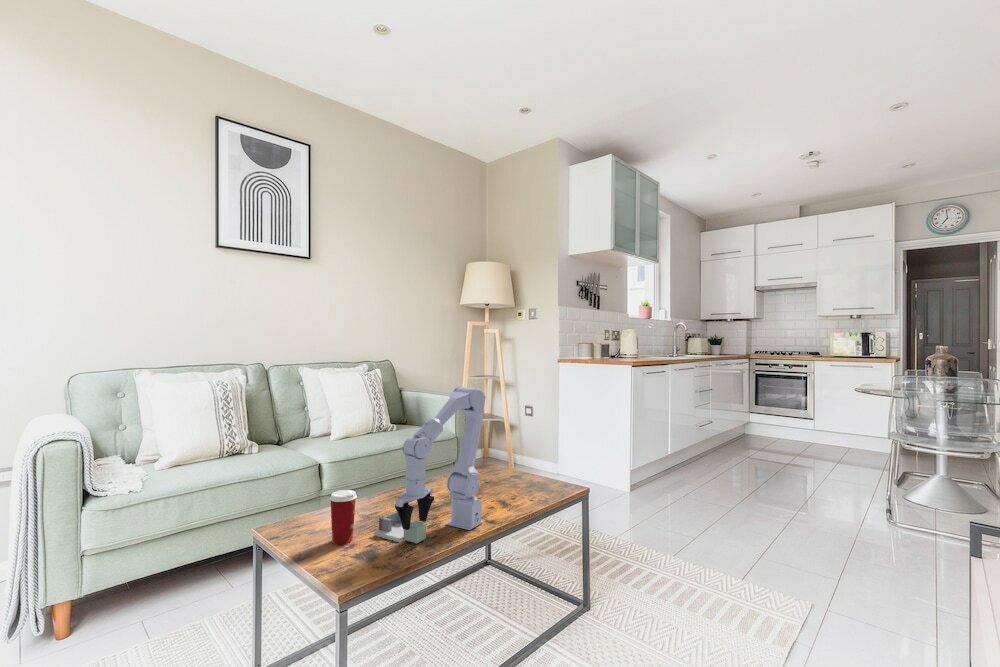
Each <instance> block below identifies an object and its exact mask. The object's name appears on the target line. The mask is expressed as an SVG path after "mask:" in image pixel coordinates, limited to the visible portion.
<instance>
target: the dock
mask: <svg viewBox="0 0 1000 667" xmlns="http://www.w3.org/2000/svg"><path fill="white" fill-rule="evenodd" d="M374 536H375V537H379V538H381V537H382V539H386V540H389V541H392V540H393V542H396V543H402V542H405V540H404V529H403V528H402V524H401V520H400V516H399V514H398V512H397V510H395V511H392V512H391V513H388V514H386V515H382V516H381V517H379V519H378V529H377V530H375V531H374Z"/></svg>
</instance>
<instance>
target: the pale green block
mask: <svg viewBox="0 0 1000 667" xmlns="http://www.w3.org/2000/svg"><path fill="white" fill-rule="evenodd" d="M426 530H427V523H426V522H423V521H416V520H412V519H411V523H410V529H409V530H405V529H404V542H405V543H408V542H411V543H413V544H414V545H415V546H416V545H417V544H418V543H420V542H424V541H425V539H426V536H427V535H426V533H427V531H426Z"/></svg>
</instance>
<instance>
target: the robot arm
mask: <svg viewBox="0 0 1000 667" xmlns="http://www.w3.org/2000/svg"><path fill="white" fill-rule="evenodd" d="M486 398H487V397H486V394H485V393H484V390H482V389H481V388H480V387H465V386H456V387H455V388H454V389H453V390H452V391H451V392H450V394H449V399H447V401H446V402H445V404H444V405H443V407H442V408H441V409H440V410H439V411H438V413H437V414H436V416H435V417H434V418H428V419H426V420H425V421H424V424H422V426H421V427H420V428H419V429H418V430H417V431H416V432H415V433H414V435H413V436H409V437H407V438H406V439H405V441H404V443H403V446H402V447H401V451H402V453H403V455H404V460H405V491H403V492H402V494H401V495H400V496H399V497H398V498H396V499H395V504H394V508H395V511H397V512H398V514H399V516H400V520H401V524H402V528H403V529H405V530H409V529H410V523H411V521H412V515H413V512H414V509H415V506H414V505H413V506H412V505H411V504H410V503H413V502H414V501H416V502H417V506H418V508H417V509H418V519H419V522H422V523H426V522H427V519H428V514H429V511H430V509H431V506H432V504H433V502H434V501H435V496H433V495H434V488H433V487H429V486H427V487H426V462H427V461H426V459H427V456H429V454H430V453H431V447H432V446H433V443H434V442H435V441H436V440H437V438H438V437H439V436H440V435H441V434H442V433H443V431H444V427H443V426H444V425H445V424H446V423H447V422H448V421H449V420H450V419H451V418H452V417H453V416H454V415H455V413H457V412H458V411H459V410H461V411H463V413H464V414H465V416H466V419H465V423H464V430H463V433H462V434H463V435H462V441H461V445H460V451H459V454H458V459H457V460H458V462H457V464H455V465H454V466H453V467H452V468H451V470H450V474H449V475H448V477H447V480H446V489H447V490H448V492H449V494H450V496H451V507H450V508H451V509H450V510H451V511H450V512H451V513H450V514H451V516H450V520H449V521H446V522H445V525H447V526H450V527H455V528H458V529H463V530H466V531H467V530H468V531H470V530H472V529H474V528H476V527H477V526H479V525H481V524H482V522H483V520H482V510H483V509H482V500H481V499H480V498H478V497H476V495H477V494H478V492H479V488H480V483H479V482H480V481H479V478H480V474H479V472H478V471H477V469H476V468H475V463H476V457H477V452H478V447H479V441H480V436H481V430H482V425H483V420H484V413H485V412H484V409H485V408H484V407H485V403H486ZM483 523H484V522H483Z"/></svg>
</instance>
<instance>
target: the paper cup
mask: <svg viewBox="0 0 1000 667" xmlns="http://www.w3.org/2000/svg"><path fill="white" fill-rule="evenodd" d="M357 498H358V496H357V494H356V491H355V490H352V489H340V490H336V491H334V492H332V493H331V494H330V497H329V500H330V520H331V541H332V544H333V545H334V544H336V545H335V546H344V545H343V544H346V545H349V544H350V542H351V541H352V542H353V537H354V524H355V515H356V514H355V512H356V511H355V510H356V499H357ZM352 542H351V543H352ZM348 543H349V544H348Z"/></svg>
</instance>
